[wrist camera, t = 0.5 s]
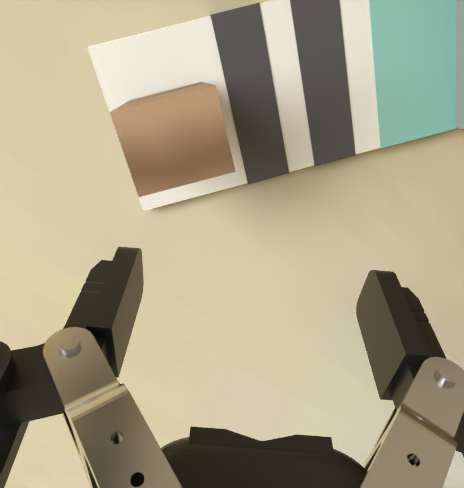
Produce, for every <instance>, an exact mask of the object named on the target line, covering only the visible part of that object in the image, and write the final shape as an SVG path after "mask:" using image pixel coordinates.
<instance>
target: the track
mask: <svg viewBox="0 0 464 488" xmlns="http://www.w3.org/2000/svg"><path fill="white" fill-rule="evenodd" d="M88 50H89V53H90V56H91V59H92V62H93V65H94V68H95V71H96V74H97V77H98V80H99V83H100V85H101V88H102V91H103V94H104V97H105V100H106V103H107V106H108V109H109V112H111V111H113V110H114V109H116V108H118V107H119V106H121V105H123V104H124V103H126V102H128V101H129V100H132V99H136V98H140V97H143V96H147V95H151V94H155V93H159V92H163V91H167V90H171V89H175V88H179V87H183V86H186V85H190V84H194V83H198V82H204V83H209V84H213V85H216V89H217V94H218V98H219V102H220V106H221V111H222V115H223V119H224V124H225V128H226V132H227V137H228V141H229V145H230V150H231V154H232V158H233V163H234V167H235V171H236V172H233V173H229V174H225V175H221V176H218V177H214V178H210V179H206V180H202V181H199V182H195V183H191V184H187V185H184V186H180V187H176V188H172V189H168V190H165V191H161V192H157V193H153V194H150V195H146V196H142V197H139V196H138V197H139V200H140V202H141V205H142V208H143V211H145V210H149V209H153V208H156V207H160V206H164V205H168V204H171V203H175V202H179V201H183V200H186V199H190V198H194V197H198V196H201V195H205V194H209V193H213V192H216V191H220V190H224V189H228V188H231V187H235V186H239V185H243V184H247V183H248V184H250V183H253V182H257V181H261V180H265V179H269V178H272V177H276V176H280V175H284V174H287V173H289V172H292V171H295V170H299V169H303V168H307V167H310V166H317V165H321V164H325V163H329V162H332V161H336V160H340V159H344V158H347V157H351V156H355V155H356V154H359V153H363V152H367V151H371V150H374V149H378V148H385V147H389V146H392V145H396V144H400V143H404V142H408V141H411V140H415V139H419V138H423V137H426V136H430V135H434V134H438V133H441V132H445V131H449V130H453V129H456V128H459V129H464V0H272V1H268V2H264V3H260V4H259V3H256V4H252V5H248V6H244V7H240V8H236V9H232V10H228V11H224V12H220V13H216V14H212V15H210V16H208V17H204V18H200V19H196V20H192V21H188V22H184V23H180V24H176V25H172V26H168V27H164V28H160V29H156V30H152V31H148V32H144V33H140V34H136V35H132V36H128V37H124V38H120V39H116V40H112V41H108V42H104V43H100V44H96V45H92V46H88ZM110 115H111V114H110ZM111 118H112V117H111ZM112 121H113V120H112ZM122 150H123V149H122ZM123 153H124V152H123ZM124 156H125V155H124ZM125 159H126V158H125ZM126 162H127V161H126ZM135 188H136V187H135ZM136 191H137V190H136ZM137 194H138V193H137Z"/></svg>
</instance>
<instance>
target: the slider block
mask: <svg viewBox="0 0 464 488" xmlns="http://www.w3.org/2000/svg"><path fill="white" fill-rule="evenodd" d="M110 114H111V117H112V120H113V123H114V126H115V129H116V132H117V135H118V138H119V141H120V144H121V147H122V149H123V152H124V155H125V158H126V161H127V164H128V167H129V170H130V173H131V176H132V179H133V182H134V185H135V187H136V190H137V193H138V196H139V197H142V196H146V195H150V194H153V193H157V192H161V191H165V190H168V189H172V188H176V187H180V186H184V185H187V184H191V183H195V182H199V181H202V180H206V179H210V178H214V177H218V176H221V175H225V174H229V173H233V172H236V171H235V167H234V163H233V158H232V154H231V150H230V145H229V141H228V137H227V132H226V128H225V124H224V119H223V115H222V111H221V106H220V102H219V98H218V94H217V89H216V85H213V84H209V83H204V82H198V83H194V84H190V85H186V86H183V87H179V88H175V89H171V90H167V91H163V92H159V93H155V94H151V95H147V96H143V97H140V98H136V99H132V100H129V101H128V102H126V103H124V104H123V105H121V106H119V107H118V108H116V109H114V110H113V111H111V112H110Z"/></svg>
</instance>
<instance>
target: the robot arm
mask: <svg viewBox="0 0 464 488" xmlns="http://www.w3.org/2000/svg"><path fill="white" fill-rule="evenodd" d="M142 293H143V266H142V252H141V249H139V248H128V247H118V249H117V251H116V253H115V256H114V258H113V261H107V260H101V261H100V262H99V263H98V264H97V265H96V266H95V267H93V268H92V269H91V271H90V273H89V275H88V277H87V279H86V283H85V284H84V286H83V288H82V290H81V293H80V294H79V297H78V299H77V301H76V303H75V305H74V307H73V309H72V312H71V314H70V316H69V318H68V320H67V322H66V325H65V327H64V328H63V329H62V330H60V331H58V332H56V333H54V334H53V335H52V336H51V337H50V338H49V339H48V340H47V341H46V343H44V344H41V345H38V346H34V347H29V348H23V349H18V350H12V351H11V350H10V348H9V347H8V346H7V345H6V344H5V343H3V342H0V488H4V486H5V484H6V481H7V479H8V476H9V473H10V471H11V468H12V465H13V463H14V460H15V458H16V455H17V452H18V450H19V447H20V444H21V442H22V439H23V436H24V434H25V431H26V429H27V426H28V423H29V421H32V420H36V419H40V418H45V417H49V416H53V415H57V414H63V417H64V419H65V422H66V424H67V427H68V429H69V432H70V434H71V437H72V439H73V442H74V444H75V447H76V449H77V452H78V454H79V457H80V459H81V462H82V464H83V467H84V470H85V473H86V476H87V478H88V481H89V484H90V486H91V488H442V487H443V484H444V481H445V478H446V476H447V473H448V470H449V467H450V464H451V461H452V459H453V456H454V453H455V450H456V451H459V452H461V453H462V454H463V457H464V370H463V369H462V368H461V367H459V366H458V365H457V364H455V363H454V362H452V361H450V360H448V359H446V357H445V355H444V352H443V350H442V348H441V346H440V344H439V342H438V340H437V337H436V335H435V333H434V331H433V329H432V327H431V325H430V323H429V320H428V318H427V316H426V314H425V313H424V309H423V307H422V305H421V303H420V301H419V299H418V298H417V297H416V296H415V295H414V294H413V293H412V292H411V291H410V290H409V288H405V287H401V285H400V283H399V281H398V279H397V276H396V274H395V273H394V272H390V271H378V270H371V271H370V272H369V274H368V276H367V278H366V281H365V283H364V286H363V289H362V291H361V294H360V296H359V299H358V302H357V308H356V313H357V319H358V323H359V326H360V330H361V333H362V337H363V340H364V344H365V347H366V351H367V354H368V358H369V361H370V365H371V368H372V372H373V375H374V379H375V383H376V386H377V390H378V393H379V397H380V399H384V400H393V402H394V405H395V409H394V410H393V412H392V414H391V415H390V417H389V419H388V421H387V423H386V425H385V427H384V429H383V431H382V433H381V434H380V436H379V438H378V440H377V442H376V444H375V446H374V448H373V450H372V451H371V453H370V455H369V457H368V459H367V460H366V462H365V464H364V466H363V467H362V466H361V465H360V464H359V463H358V462H356V461H355V460H354V459H352V458H351V457H349V456H347V455H346V454H344V453H342V452H340V451H338V450H335V449H333V446H332V440H331V437H321V436H307V435H293V436H288V437H283V438H277V439H272V440H267V441H259V440H255V439H252V438H250V437H247V436H244V435H241V434H238V433H235V432H232V431H229V430H226V429H215V428H202V427H191V428H190V437H187V438H182V439H179V440H176V441H173V442H171V443H169V444H167V445H165V446H164V447H162V448H160V447H159V445H158V443H157V441H156V439H155V437H154V436H153V434H152V432H151V430H150V428H149V427H148V425H147V423H146V421H145V419H144V418H143V416H142V414H141V412H140V410H139V409H138V407H137V405H136V403H135V401H134V400H133V398H132V396H131V394H130V392H129V391H128V389H127V387H126V386H125V385H124V384H120V383H119V382H118V380H117V378H116V377H119V374H120V371H121V367H122V364H123V360H124V357H125V353H126V350H127V346H128V343H129V339H130V336H131V333H132V329H133V326H134V322H135V319H136V315H137V312H138V308H139V305H140V302H141V298H142Z"/></svg>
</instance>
